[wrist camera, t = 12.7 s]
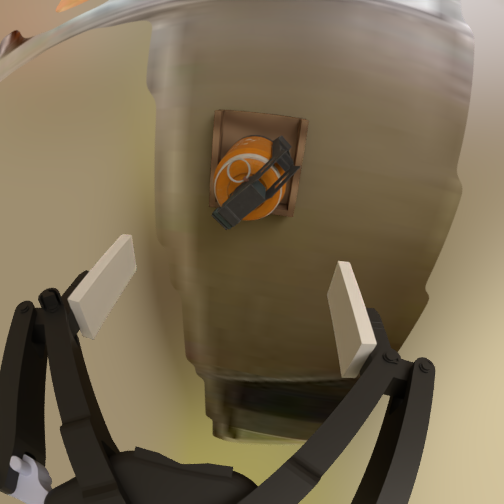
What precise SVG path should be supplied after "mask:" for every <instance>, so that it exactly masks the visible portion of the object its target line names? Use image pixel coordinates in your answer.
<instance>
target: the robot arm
mask: <svg viewBox="0 0 504 504" xmlns="http://www.w3.org/2000/svg"><path fill="white" fill-rule="evenodd" d="M136 270H137V268H136V261H135V254H134V247H133V240H132V235H126V234H121V236H120V237H119V238H118V239H117V240H116V241H115V242H114V243H113V244H112V246H111V247H110V248H109V249H108V250H107V251H106V252H105V254H104V255H103V256H102V257H101V258H100V259H99V261H98V262H97V263H96V264H95V265H94V266H93V268H92V269H91V270H90V271H87V270H86V271H84V272H83V273H81V274H79V275H78V277H77V278H76V279H75V280H74V282H73V283H72V284H71V286H69V288H68V289H67V290H66V291H65V293H64V294H63V295H62V296H60V293H59V291H58V290H57V289H56V288H49V289H46V290H44V291H43V292H42V293H41V294H40V295H39V298H38V300H39V303H40V305H41V307H42V308H35V307H34V305H33V303H32V302H31V301H24V302H22V303H20V304H19V305H18V306H17V307H16V310H15V312H14V316H13V319H12V323H11V326H10V330H9V334H8V337H7V342H6V346H5V350H4V355H3V360H2V365H1V370H0V491H1V492H3V493H5V494H7V495H9V496H12V497H14V498H17V499H19V500H21V501H23V502H25V503H27V504H298V503H299V502H300V501H301V500H302V499H303V498H304V497H305V496H306V495H307V494H308V493H309V492H310V491H311V490H312V489H313V488H314V487H315V485H316V484H317V483H318V482H319V480H320V479H321V477H322V475H323V474H324V473H325V472H326V471H327V470H328V468H329V467H330V466H331V465H332V464H333V463H334V461H335V460H336V459H337V458H338V457H339V455H340V454H341V453H342V452H343V450H344V449H345V448H346V446H347V445H348V444H349V443H350V441H351V440H352V438H353V437H354V436H355V435H356V433H357V432H358V430H359V429H360V427H361V426H362V425H363V424H364V422H365V421H366V419H367V418H368V416H369V415H370V413H371V412H372V410H373V409H374V407H375V406H376V404H377V403H378V401H379V400H380V398H381V396H382V395H383V394H385V395H389V396H390V399H389V403H388V406H387V410H386V413H385V417H384V420H383V424H382V426H381V430H380V433H379V436H378V439H377V442H376V445H375V447H374V450H373V453H372V456H371V458H370V461H369V463H368V466H367V468H366V471H365V473H364V476H363V478H362V480H361V483H360V485H359V487H358V490H357V492H356V494H355V496H354V498H353V500H352V503H351V504H408V501H409V498H410V495H411V492H412V489H413V486H414V483H415V479H416V476H417V472H418V469H419V465H420V461H421V457H422V453H423V449H424V444H425V440H426V435H427V430H428V424H429V418H430V412H431V405H432V398H433V390H434V379H435V367H434V365H433V363H432V362H431V361H430V360H428V359H427V358H423V357H422V358H418V359H417V360H416V361H415V362H414V363H413V362H409V361H406V360H403V359H401V357H400V355H399V354H398V352H396V351H395V350H394V349H391V347H390V344H389V341H388V338H387V335H386V332H385V329H384V326H383V323H382V320H381V318H380V315H379V314H378V312H377V311H376V310H375V309H374V308H365V305H364V302H363V299H362V296H361V293H360V290H359V287H358V284H357V282H356V279H355V276H354V273H353V271H352V268H351V265H350V263H349V262H344V261H338V263H337V266H336V269H335V272H334V275H333V278H332V281H331V285H330V288H329V291H328V294H327V297H328V302H329V307H330V312H331V317H332V322H333V328H334V333H335V339H336V344H337V350H338V356H339V362H340V368H341V375H342V378H356V376H357V375H358V373H359V372H360V375H361V377H360V379H359V380H358V381H357V383H356V384H355V385H354V387H353V388H352V389H351V390H350V392H349V393H348V394H347V396H346V397H345V398H344V399H343V401H342V402H341V403H340V404H339V405H338V407H337V408H336V409H335V410H334V411H333V413H332V414H331V415H330V416H329V417H328V418H327V420H326V421H325V422H324V423H323V424H322V425H321V426H320V428H319V429H318V430H317V431H316V432H315V433H314V434H313V435H312V436H311V437H310V438H309V440H308V441H307V442H306V443H305V444H304V445H303V446H302V447H301V448H300V449H299V450H298V451H297V452H296V453H295V454H294V455H293V456H292V457H291V458H290V459H288V460H287V461H286V462H285V463H284V464H283V465H282V466H281V467H280V468H279V469H278V470H277V471H276V472H274V473H273V474H272V475H271V476H270V477H269V478H268V479H267V480H265V481H264V482H263V483H262V484H261V485H260V486H257V485H256V484H255V483H254V482H253V481H252V480H250V479H249V478H247V477H245V476H244V475H242V474H240V473H238V472H235V471H233V467H230V466H222V465H215V464H209V463H207V464H180V463H178V462H175V461H173V460H172V459H169V458H167V457H165V456H163V455H162V454H160V453H157V452H153V451H150V450H146V449H143V448H139V447H136V448H135V451H124V452H120V451H119V450H118V448H117V446H116V445H115V443H114V442H113V440H112V438H111V436H110V433H109V431H108V429H107V426H106V424H105V421H104V419H103V416H102V413H101V411H100V408H99V405H98V403H97V400H96V397H95V394H94V391H93V388H92V385H91V382H90V379H89V375H88V372H87V369H86V365H85V362H84V358H83V354H82V351H81V346H80V342H79V338H78V336H77V333H78V331H79V330H80V331H81V333H82V336H83V337H86V338H90V339H94V338H95V337H96V335H97V333H98V332H99V330H100V328H101V326H102V325H103V323H104V321H105V319H106V318H107V316H108V315H109V313H110V311H111V310H112V308H113V306H114V305H115V303H116V302H117V300H118V298H119V297H120V295H121V294H122V292H123V290H124V289H125V287H126V285H127V284H128V283H129V281H130V280H131V278H132V276H133V275H134V273H135V272H136ZM47 357H48V359H49V365H50V371H51V376H52V382H53V387H54V392H55V396H56V400H57V404H58V409H59V412H60V416H61V420H62V426H61V427H60V432H61V436H62V439H63V442H64V445H65V448H66V451H67V454H68V457H69V460H70V462H71V465H72V468H73V470H74V473H75V475H76V477H74V478H72V479H71V480H69V481H67V482H65V483H63V484H61V485H59V486H57V487H55V488H54V489H52V488H51V484H52V479H51V477H50V476H49V473H48V471H47V469H46V468H45V460H46V451H45V450H46V448H45V428H44V427H45V425H44V404H45V402H44V401H45V381H46V368H47Z"/></svg>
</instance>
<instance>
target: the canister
mask: <svg viewBox="0 0 504 504" xmlns="http://www.w3.org/2000/svg"><path fill="white" fill-rule="evenodd" d="M291 147H292V146H291V145H290V144H289V143H288V142H287V141H286V139H285V138H284V137H283V136H282V135H281V136H279V137H278V138H277V139H275V140H274V141H272V140H271V139H269V138H267V137H265V136H261V135H249V136H246V137H243V138H241V139H240V140H238V141H237V142H236V143H235V144H234V145H233V146H232V147H231V149H230V150H229V151H228V152H227V154H226V155H225V156H224V157H223V159H222V160H221V161H220V163H219V164H218V166H217V168H216V170H215V173H214V180H213V183H214V193H215V197H216V199H217V202H218V203H219V205H220V206H221V207H219V208H217V209H216V210H215V211H214V212H213V214H212V217H213V218H214V219H216V220H217V221H218V222H219V223H220V224H221V225H222V226H223V227H224V228H225V229H226V230H227V228H228V229H230V228H232V227H234V226H235V225H236V224H238V223H239V222H240V221H241V220H257V219H261V218H263V217H265V216H267V215H269V214H270V213H271V212H272V211H273V210H274V209H275V208H276V207H277V205H278V204H279V203H280V201H281V200H282V198H283V196H284V193H285V190H286V182H287V181H288V180H289V179H290V178H291V177H292V176H293V175H294V174H295V173H296V172H297V170H298V169H299V168H300V167H301V166H293V164H294V162H293V159H292V158H291V155H290V152H289V150H290V149H291ZM289 173H290V174H289ZM288 174H289V175H288ZM287 175H288V176H287ZM286 176H287V177H286Z"/></svg>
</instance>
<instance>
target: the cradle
mask: <svg viewBox="0 0 504 504" xmlns="http://www.w3.org/2000/svg"><path fill="white" fill-rule="evenodd" d="M308 122H309V121H308V120H306V119H301V118H295V117H288V116H281V115H273V114H265V113H256V112H245V111H233V110H216V111H215V115H214V128H213V143H212V158H211V176H210V197H209V207H215V208H219V207H221V206H220V205H219V203H218V202H217V199H216V197H215V193H214V183H213V180H214V173H215V170H216V168H217V166H218V164H219V163H220V161H221V160H222V159H223V157H224V156H225V155H226V154H227V152H228V151H229V150H230V149H231V147H232V146H233V145H234V144H235V143H236V142H237V141H238V140H240V139H241V138H243V137H246V136H249V135H261V136H265V137H267V138H269V139H271V140H272V141H274V140H275V139H277V138H278V137H279V136H281V135H282V136H283V137H284V138H285V139H286V141H287V142H288V143H289V144H290V145H291V146H292V147H291V149H290V150H289V152H290V155H291V158H292V159H293V162H294V164H293V166H301V167H302V161H303V155H304V149H305V142H306V136H307V129H308ZM301 167H300V168H299V169H298V170H297V172H296V173H295V174H294V175H293V176H292V177H291V178H290V179H289V180H288V181H287V182H286V190H285V193H284V196H283V198H282V200H281V201H280V203H279V204H278V205H277V207H276V208H275V209H274V210H273V211H272V212H271V213H270V214H274V215H282V216H289V217H293V214H294V208H295V203H296V197H297V191H298V185H299V179H300V173H301ZM289 174H290V173H289ZM289 174H288V175H289ZM288 175H287V176H288ZM287 176H286V177H287Z"/></svg>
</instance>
